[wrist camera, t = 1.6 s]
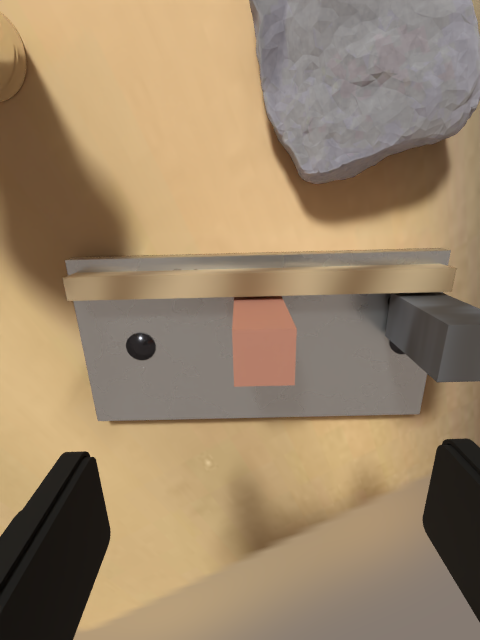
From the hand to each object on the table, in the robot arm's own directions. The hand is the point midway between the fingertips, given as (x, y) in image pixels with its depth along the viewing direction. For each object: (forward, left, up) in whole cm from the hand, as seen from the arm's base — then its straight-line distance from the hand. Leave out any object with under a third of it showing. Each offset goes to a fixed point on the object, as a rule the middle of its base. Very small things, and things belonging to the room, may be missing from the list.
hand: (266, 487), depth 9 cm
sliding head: (0, 0, -13) cm, 13 cm away
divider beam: (0, -1, -13) cm, 13 cm away
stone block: (-5, -15, -15) cm, 22 cm away
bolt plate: (0, +2, -15) cm, 15 cm away
